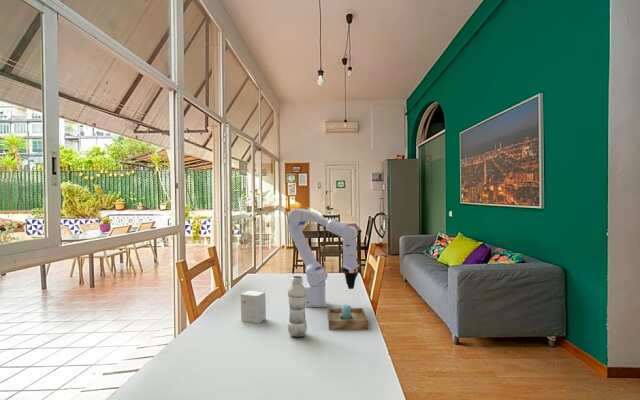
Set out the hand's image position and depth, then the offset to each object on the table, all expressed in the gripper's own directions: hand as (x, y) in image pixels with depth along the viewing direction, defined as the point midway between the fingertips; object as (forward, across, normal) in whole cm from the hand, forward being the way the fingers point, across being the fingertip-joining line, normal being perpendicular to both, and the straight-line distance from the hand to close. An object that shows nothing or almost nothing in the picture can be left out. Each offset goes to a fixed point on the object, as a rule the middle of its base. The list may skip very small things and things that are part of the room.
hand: (350, 286), depth 148 cm
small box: (+10, -13, +39) cm, 42 cm away
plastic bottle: (+10, -29, +21) cm, 37 cm away
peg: (+9, -17, +3) cm, 20 cm away
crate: (+9, -17, +3) cm, 20 cm away
